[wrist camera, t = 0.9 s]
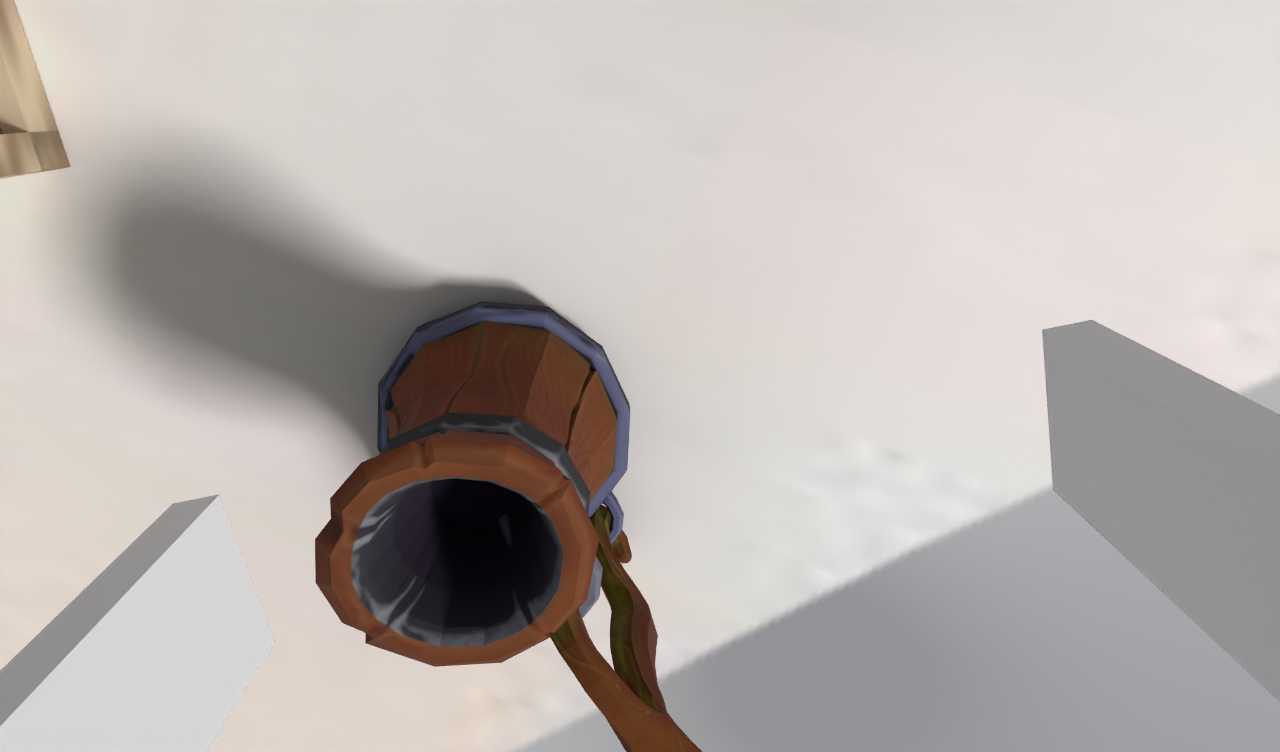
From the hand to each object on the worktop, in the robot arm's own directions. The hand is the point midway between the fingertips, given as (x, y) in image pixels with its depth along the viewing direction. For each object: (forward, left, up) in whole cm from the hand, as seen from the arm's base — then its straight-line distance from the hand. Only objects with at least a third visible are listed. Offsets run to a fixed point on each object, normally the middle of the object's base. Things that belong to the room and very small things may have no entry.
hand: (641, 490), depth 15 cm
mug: (+10, -5, -27) cm, 29 cm away
